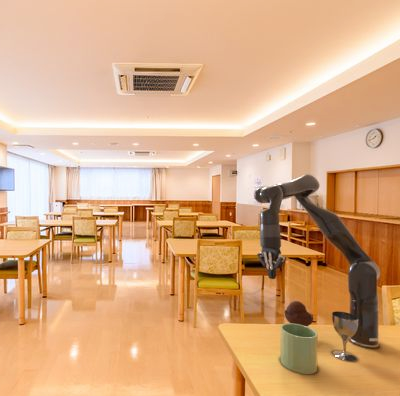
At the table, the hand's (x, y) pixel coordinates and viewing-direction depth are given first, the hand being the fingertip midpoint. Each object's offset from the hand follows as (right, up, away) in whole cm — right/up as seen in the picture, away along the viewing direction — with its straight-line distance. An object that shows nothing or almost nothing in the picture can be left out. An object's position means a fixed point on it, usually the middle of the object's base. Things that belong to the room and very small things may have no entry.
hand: (272, 278), depth 115 cm
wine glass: (+23, -27, -8) cm, 36 cm away
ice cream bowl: (+14, -27, +7) cm, 31 cm away
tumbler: (+3, -26, -14) cm, 30 cm away
